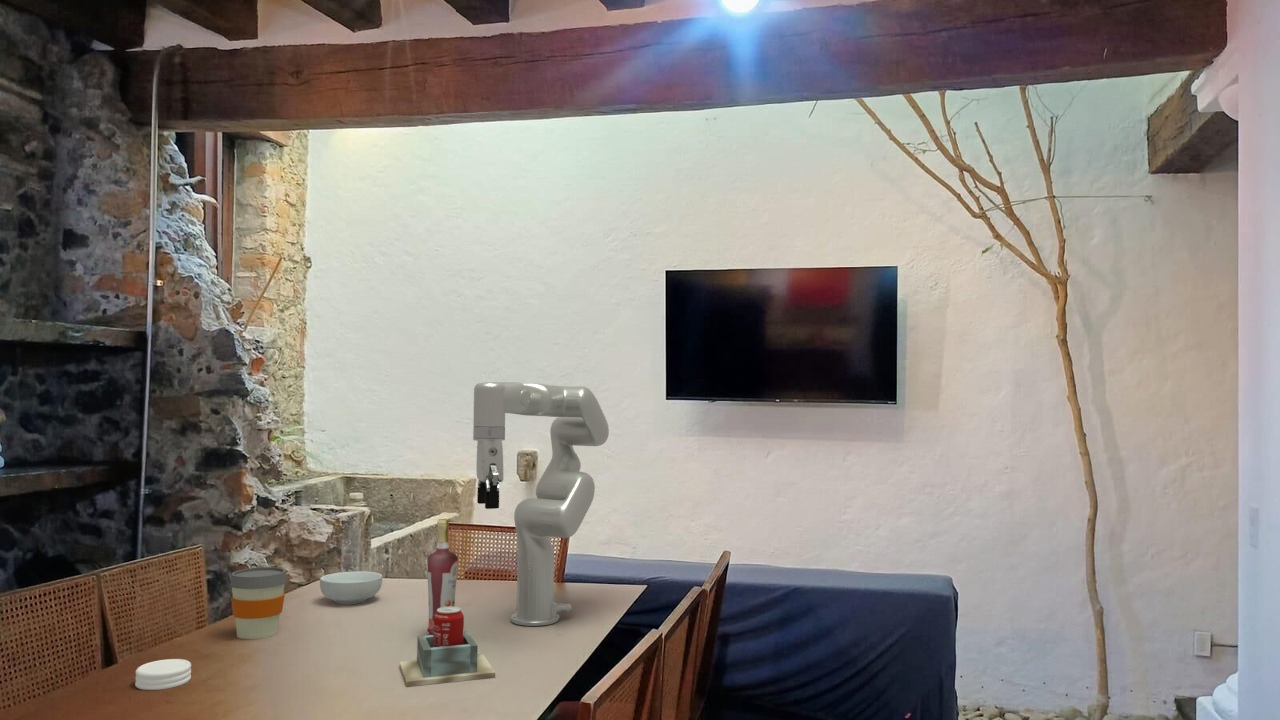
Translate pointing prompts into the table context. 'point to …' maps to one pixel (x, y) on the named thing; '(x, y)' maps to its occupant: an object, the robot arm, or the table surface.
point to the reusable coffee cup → (257, 601)
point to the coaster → (163, 674)
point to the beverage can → (448, 627)
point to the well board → (445, 663)
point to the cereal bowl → (350, 586)
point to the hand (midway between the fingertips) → (487, 505)
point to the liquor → (441, 574)
